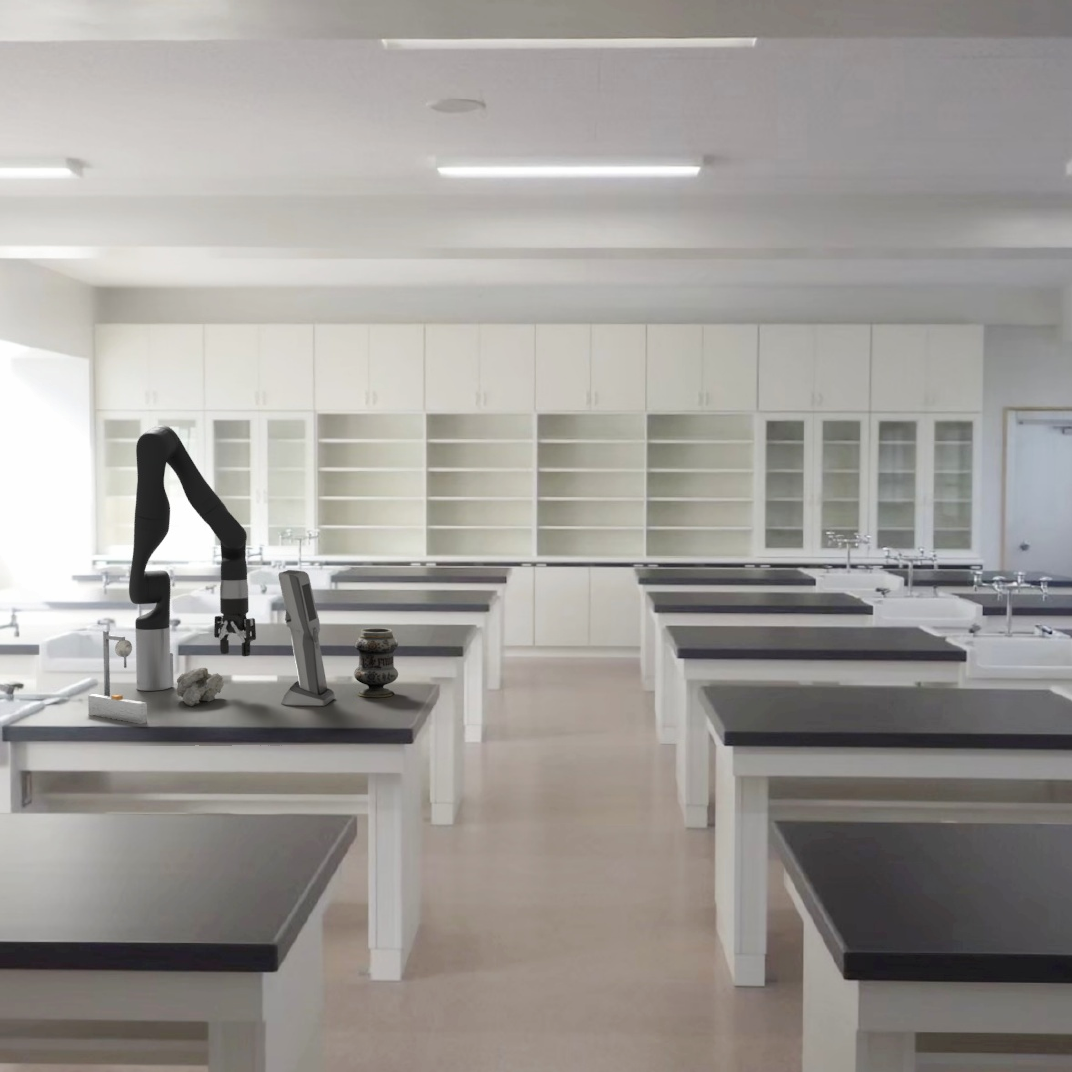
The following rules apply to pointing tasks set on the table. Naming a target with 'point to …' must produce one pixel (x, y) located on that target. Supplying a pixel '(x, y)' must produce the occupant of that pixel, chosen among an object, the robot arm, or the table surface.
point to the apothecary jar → (376, 661)
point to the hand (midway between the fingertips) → (235, 654)
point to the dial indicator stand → (121, 650)
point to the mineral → (198, 686)
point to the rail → (118, 708)
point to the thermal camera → (304, 642)
